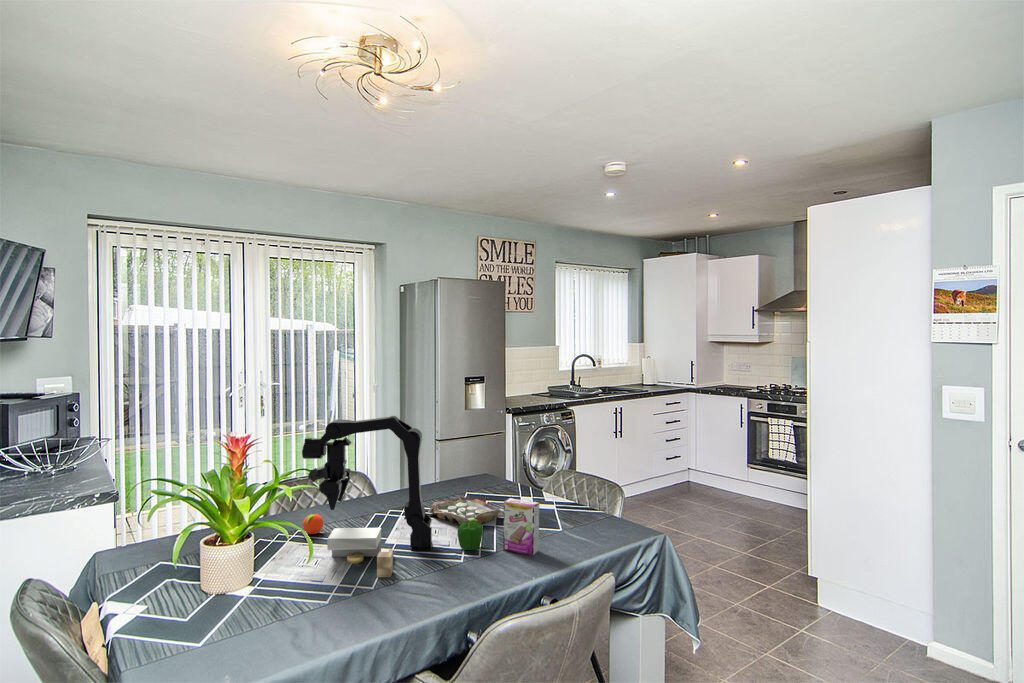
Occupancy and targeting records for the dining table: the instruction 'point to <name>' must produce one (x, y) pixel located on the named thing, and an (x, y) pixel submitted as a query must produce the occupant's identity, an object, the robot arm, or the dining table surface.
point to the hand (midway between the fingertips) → (336, 505)
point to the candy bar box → (521, 526)
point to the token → (355, 558)
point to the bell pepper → (470, 535)
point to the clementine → (313, 523)
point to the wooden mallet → (385, 564)
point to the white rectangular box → (354, 541)
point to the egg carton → (464, 510)
